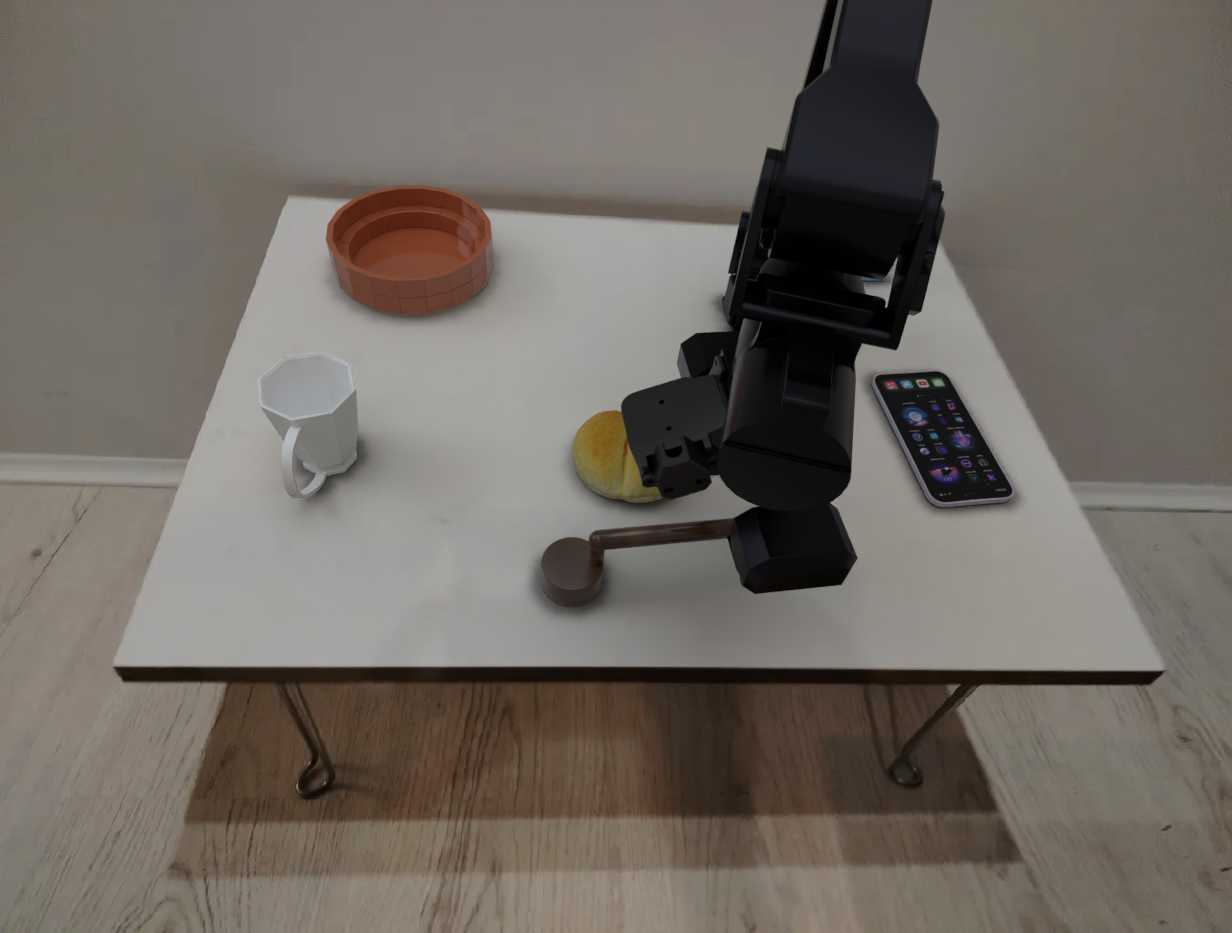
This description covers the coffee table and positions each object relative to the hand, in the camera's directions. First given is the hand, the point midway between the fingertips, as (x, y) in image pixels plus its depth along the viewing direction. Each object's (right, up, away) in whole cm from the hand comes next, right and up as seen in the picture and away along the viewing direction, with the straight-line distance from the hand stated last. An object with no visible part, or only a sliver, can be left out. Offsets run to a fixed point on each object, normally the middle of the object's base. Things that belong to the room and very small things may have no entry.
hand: (730, 525), depth 54 cm
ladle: (-4, -4, +3) cm, 7 cm away
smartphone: (+20, +7, +14) cm, 26 cm away
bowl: (-28, +24, +23) cm, 43 cm away
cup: (-31, +4, +7) cm, 32 cm away
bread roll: (-7, +4, +10) cm, 13 cm away
